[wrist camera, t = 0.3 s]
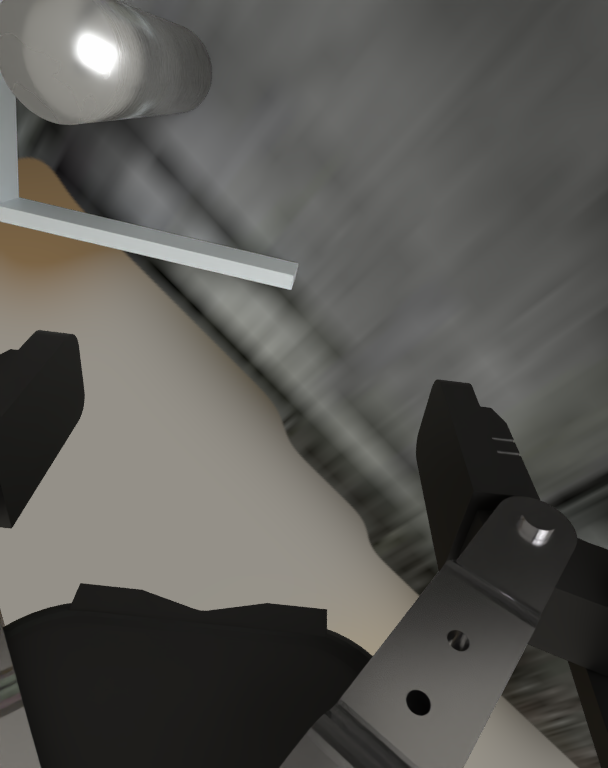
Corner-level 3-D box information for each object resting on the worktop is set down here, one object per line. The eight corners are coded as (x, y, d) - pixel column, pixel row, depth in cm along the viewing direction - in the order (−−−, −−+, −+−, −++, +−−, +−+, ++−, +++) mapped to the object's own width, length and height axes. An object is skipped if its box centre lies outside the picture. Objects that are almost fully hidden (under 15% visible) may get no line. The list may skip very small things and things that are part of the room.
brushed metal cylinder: (138, 15, 33) (-11, -38, 20) (217, 34, 33) (121, -6, 20) (132, 103, 35) (-4, 109, 22) (206, 121, 35) (115, 137, 22)
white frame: (-14, -219, 29) (-51, -251, 26) (379, -120, 29) (382, -142, 27) (5, 208, 39) (-21, 216, 36) (295, 277, 40) (291, 289, 37)
